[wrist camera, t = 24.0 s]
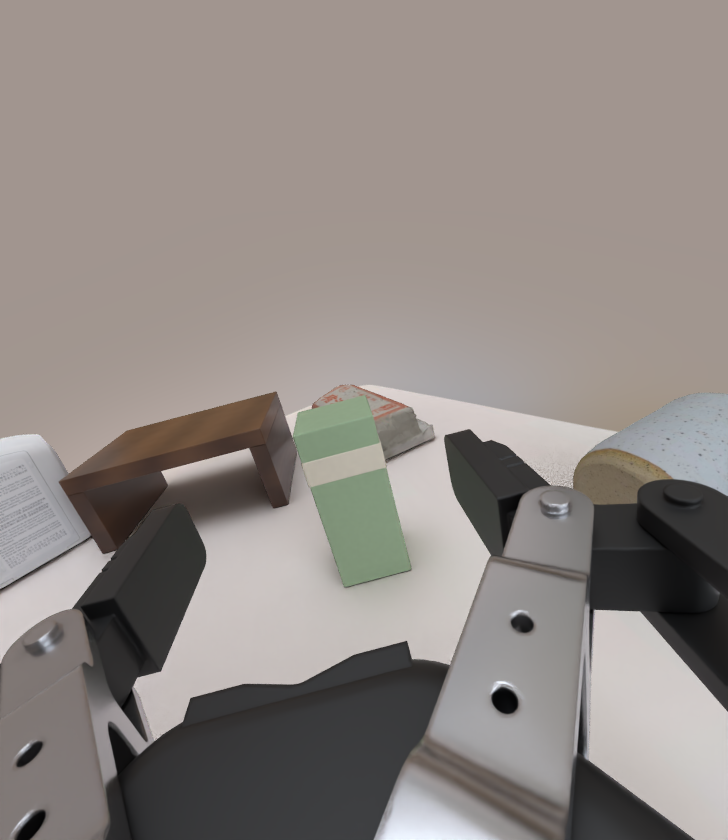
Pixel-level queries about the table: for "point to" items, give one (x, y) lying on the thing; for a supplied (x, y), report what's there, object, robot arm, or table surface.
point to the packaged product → (385, 419)
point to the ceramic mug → (660, 451)
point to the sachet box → (352, 489)
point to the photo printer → (33, 507)
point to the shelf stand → (177, 463)
